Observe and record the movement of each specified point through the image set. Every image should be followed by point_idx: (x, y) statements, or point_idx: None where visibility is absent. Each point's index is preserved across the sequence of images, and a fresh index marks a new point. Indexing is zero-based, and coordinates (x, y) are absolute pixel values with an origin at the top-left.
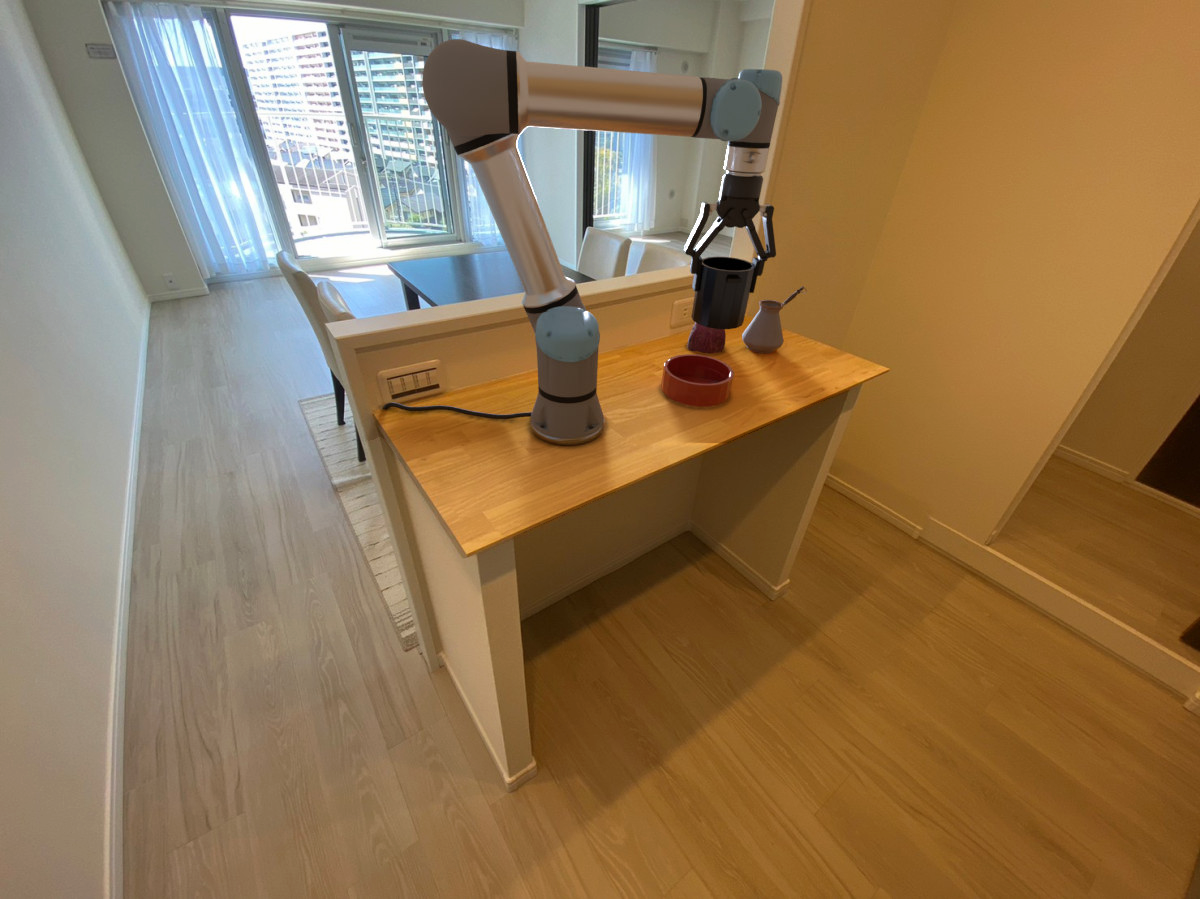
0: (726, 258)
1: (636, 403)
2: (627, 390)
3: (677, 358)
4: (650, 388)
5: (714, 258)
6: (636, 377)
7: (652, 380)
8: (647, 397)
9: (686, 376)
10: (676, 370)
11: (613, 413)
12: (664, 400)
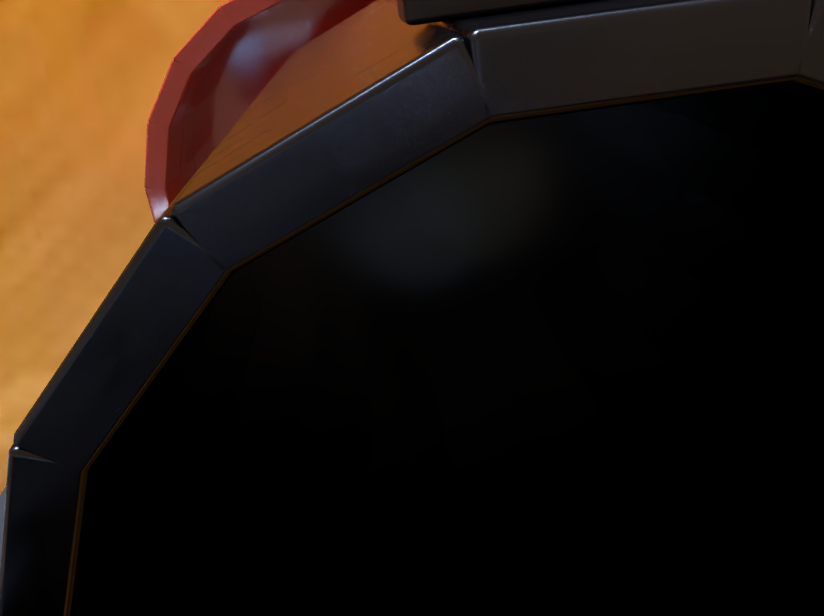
0: (784, 74)
1: (85, 319)
2: (10, 208)
3: (221, 41)
4: (123, 164)
5: (395, 165)
6: (18, 46)
7: (118, 67)
8: (125, 257)
9: (308, 7)
10: (238, 31)
11: (8, 413)
12: None
